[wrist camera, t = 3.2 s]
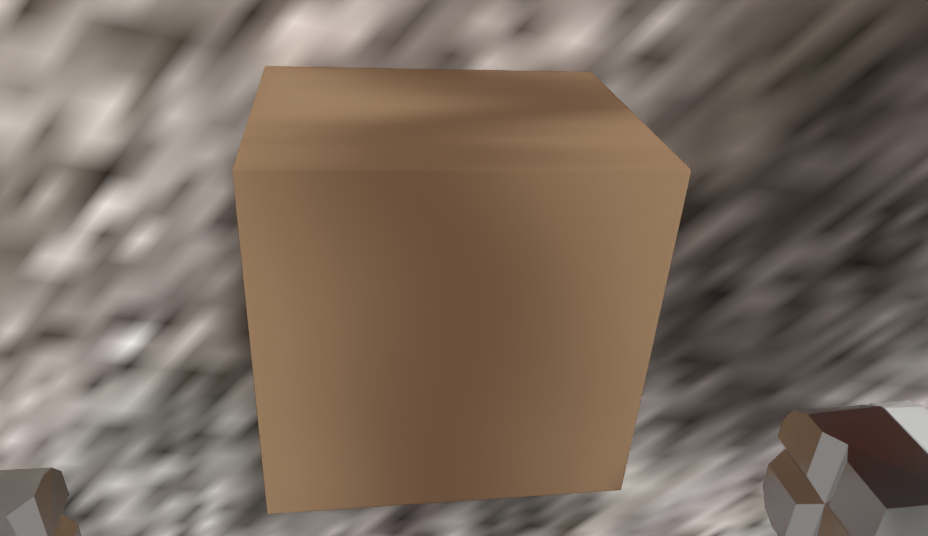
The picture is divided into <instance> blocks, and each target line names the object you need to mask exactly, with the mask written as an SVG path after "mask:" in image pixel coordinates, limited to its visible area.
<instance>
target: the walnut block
mask: <svg viewBox="0 0 928 536" xmlns="http://www.w3.org/2000/svg"><path fill="white" fill-rule="evenodd" d="M232 172H233V182H234V192H235V202H236V211H237V221H238V231H239V241H240V250H241V260H242V270H243V280H244V289H245V299H246V309H247V319H248V328H249V338H250V348H251V358H252V367H253V377H254V387H255V397H256V406H257V416H258V426H259V436H260V446H261V455H262V465H263V475H264V485H265V494H266V504H267V514H274V513H289V512H304V511H319V510H333V509H348V508H363V507H378V506H392V505H407V504H422V503H437V502H452V501H466V500H481V499H496V498H511V497H525V496H540V495H555V494H570V493H584V492H599V491H614V490H621V487H622V483H623V478H624V474H625V469H626V464H627V460H628V455H629V451H630V446H631V442H632V437H633V433H634V428H635V424H636V419H637V415H638V410H639V405H640V401H641V396H642V392H643V387H644V383H645V378H646V374H647V369H648V365H649V360H650V356H651V351H652V346H653V342H654V337H655V333H656V328H657V324H658V319H659V315H660V310H661V306H662V301H663V296H664V292H665V287H666V283H667V278H668V274H669V269H670V265H671V260H672V256H673V251H674V247H675V242H676V237H677V233H678V228H679V224H680V219H681V215H682V210H683V206H684V201H685V197H686V192H687V188H688V183H689V178H690V174H691V169H690V168H689V167H688V166H687V165H686V164H685V163H684V162H683V161H682V160H681V159H680V158H679V157H678V156H677V155H676V154H675V153H674V152H673V151H672V150H671V149H670V148H669V147H668V146H667V145H666V144H664V143H663V142H662V141H661V140H660V139H659V138H658V137H657V136H656V135H655V134H654V133H653V132H652V131H651V130H650V129H649V128H648V127H647V126H646V125H645V124H644V123H643V122H642V121H641V120H640V119H639V118H638V117H637V116H636V115H635V114H634V113H633V112H632V111H631V110H630V109H629V108H628V107H627V106H626V105H625V104H623V103H622V102H621V101H620V100H619V99H618V98H617V97H616V96H615V95H614V94H613V93H612V92H611V91H610V90H609V89H608V88H607V87H606V86H605V85H604V84H603V83H602V82H601V81H600V80H599V79H598V78H597V77H596V76H595V75H594V74H593V73H592V72H563V71H507V70H451V69H395V68H340V67H284V66H265V68H264V72H263V75H262V78H261V81H260V84H259V87H258V91H257V94H256V97H255V100H254V103H253V106H252V110H251V113H250V116H249V119H248V122H247V126H246V129H245V132H244V135H243V138H242V141H241V145H240V148H239V151H238V154H237V157H236V161H235V164H234V167H233V170H232Z"/></svg>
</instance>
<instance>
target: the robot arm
mask: <svg viewBox="0 0 928 536" xmlns="http://www.w3.org/2000/svg"><path fill="white" fill-rule="evenodd" d="M778 438H779V440H780V442H781V444H782V445H783V447H784V450H783V451H782V452H781V453H780V454H779V455H778V456H777V457H776V458H775V459H774V460H773V461H772V462H771V463H769V464H768V468H767V472H766V476H765V479H764V483H763V492H764V502H765V509H766V512H767V514H768V517H769V520H770V522H771V525H772V527H773V528H774V530H775V532H776V533H777V535H778V536H928V410H927V409H926V408H925V407H923V406H921V405H919V404H917V403H915V402H912V401H910V400H905V401H894V402H883V403H873V404H869V405H855V406H843V407H831V408H820V409H808V410H796V411H792V412H791V413H790V414H789V415H788V416H787V417H786V418H785V419H784V420H783V422H782V425H781V428H780V431H779V434H778ZM68 496H69V492H68V489H67V486H66V484H65V481H64V478H63V475H62V472H61V471H59V470H57V469H54V468H35V469H16V470H0V536H81V533H80V529H79V525H78V524H76V523H75V522H73V521H72V520H70V519H69V518H67V517H66V516H65V515H63V514H62V512H63V510H64V507H65V504H66V502H67V499H68Z"/></svg>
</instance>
